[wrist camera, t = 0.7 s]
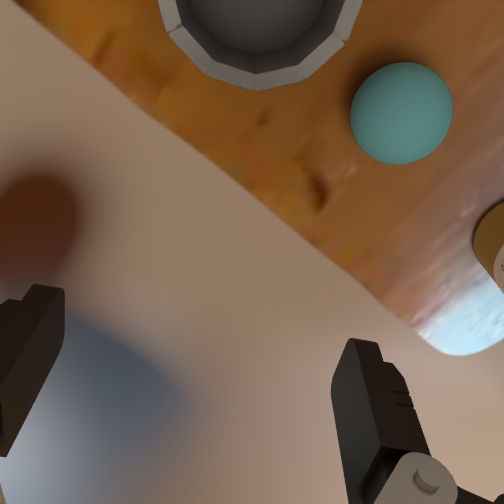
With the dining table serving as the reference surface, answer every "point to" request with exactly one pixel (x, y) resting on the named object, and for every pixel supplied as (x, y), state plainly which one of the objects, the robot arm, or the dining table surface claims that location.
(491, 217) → the bark textured cylinder
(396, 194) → the dining table surface
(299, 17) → the grey ribbed round container
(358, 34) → the dining table surface
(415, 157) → the ball
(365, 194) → the dining table surface
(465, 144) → the dining table surface
